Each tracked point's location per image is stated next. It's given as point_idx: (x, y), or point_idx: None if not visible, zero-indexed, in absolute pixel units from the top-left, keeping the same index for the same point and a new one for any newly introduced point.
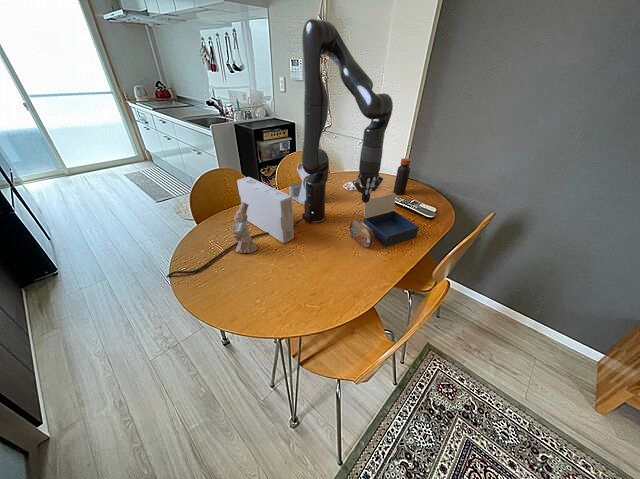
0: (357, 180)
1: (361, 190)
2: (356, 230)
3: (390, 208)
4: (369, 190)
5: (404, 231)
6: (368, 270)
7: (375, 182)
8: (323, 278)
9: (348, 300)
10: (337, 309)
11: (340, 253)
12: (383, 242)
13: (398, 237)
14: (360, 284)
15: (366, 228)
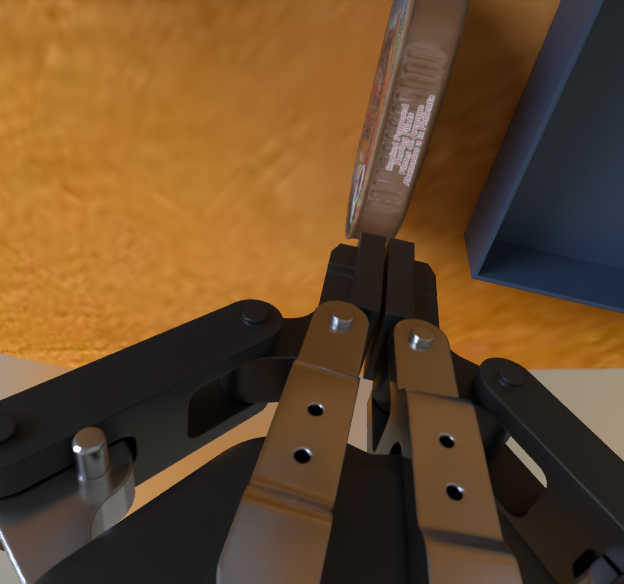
0: (9, 559)
1: (197, 420)
2: (395, 50)
3: None
4: (370, 432)
5: (621, 312)
6: (237, 286)
7: (563, 534)
8: (20, 197)
9: (72, 328)
10: (21, 329)
11: (190, 105)
12: (474, 223)
13: (566, 281)
14: (154, 312)
15: (375, 193)
